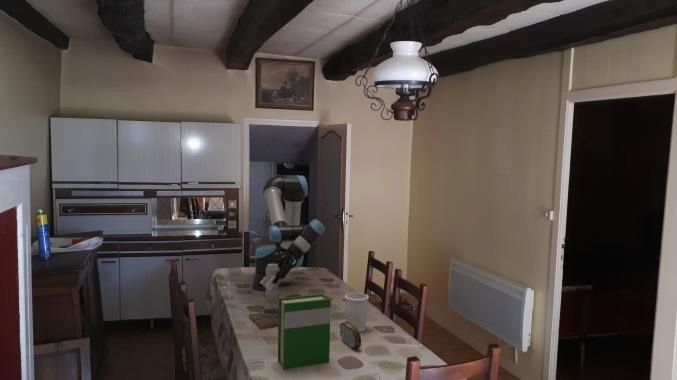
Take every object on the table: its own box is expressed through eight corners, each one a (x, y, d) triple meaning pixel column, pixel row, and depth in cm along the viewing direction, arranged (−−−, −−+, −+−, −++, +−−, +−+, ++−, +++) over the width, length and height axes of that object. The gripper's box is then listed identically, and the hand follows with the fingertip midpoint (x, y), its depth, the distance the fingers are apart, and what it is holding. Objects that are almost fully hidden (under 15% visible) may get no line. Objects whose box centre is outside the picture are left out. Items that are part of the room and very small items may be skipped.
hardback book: (283, 369, 179) (284, 304, 177) (277, 361, 186) (278, 298, 184) (329, 362, 186) (330, 299, 184) (321, 354, 193) (323, 293, 191)
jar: (355, 323, 229) (356, 291, 227) (372, 329, 221) (373, 296, 220) (339, 329, 221) (339, 295, 220) (356, 335, 214) (357, 301, 212)
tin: (361, 351, 198) (362, 330, 197) (354, 352, 196) (355, 331, 196) (345, 337, 211) (345, 318, 210) (338, 338, 210) (338, 319, 209)
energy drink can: (266, 295, 231) (267, 263, 230) (279, 295, 231) (280, 263, 230) (264, 299, 225) (264, 266, 224) (277, 299, 225) (278, 266, 224)
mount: (249, 317, 232) (249, 308, 232) (281, 313, 240) (281, 304, 239) (260, 329, 218) (260, 319, 218) (294, 324, 226) (294, 314, 225)
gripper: (312, 257, 225) (277, 297, 219) (295, 249, 242) (263, 286, 236) (301, 246, 222) (266, 286, 216) (285, 239, 239) (252, 276, 233)
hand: (264, 286), depth 226 cm, fingers closed on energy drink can, 6 cm apart
